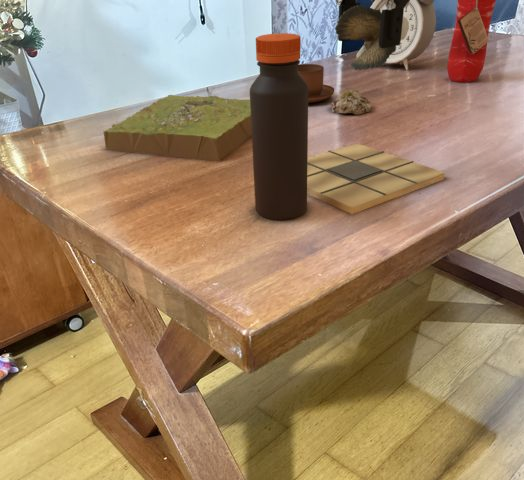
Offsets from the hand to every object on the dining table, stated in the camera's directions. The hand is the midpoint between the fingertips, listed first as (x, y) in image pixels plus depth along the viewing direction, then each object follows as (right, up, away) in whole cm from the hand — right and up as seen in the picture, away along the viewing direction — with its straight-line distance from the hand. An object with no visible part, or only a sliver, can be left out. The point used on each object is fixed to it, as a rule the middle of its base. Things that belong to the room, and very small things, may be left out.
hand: (368, 41), depth 69 cm
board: (0, -14, +10) cm, 17 cm away
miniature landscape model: (-26, 0, +29) cm, 40 cm away
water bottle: (+32, +21, +52) cm, 64 cm away
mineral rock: (+4, +8, +38) cm, 40 cm away
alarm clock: (+20, +32, +67) cm, 77 cm away
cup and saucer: (-4, +13, +45) cm, 47 cm away
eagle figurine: (0, -2, +1) cm, 3 cm away
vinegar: (-11, -21, +2) cm, 24 cm away
